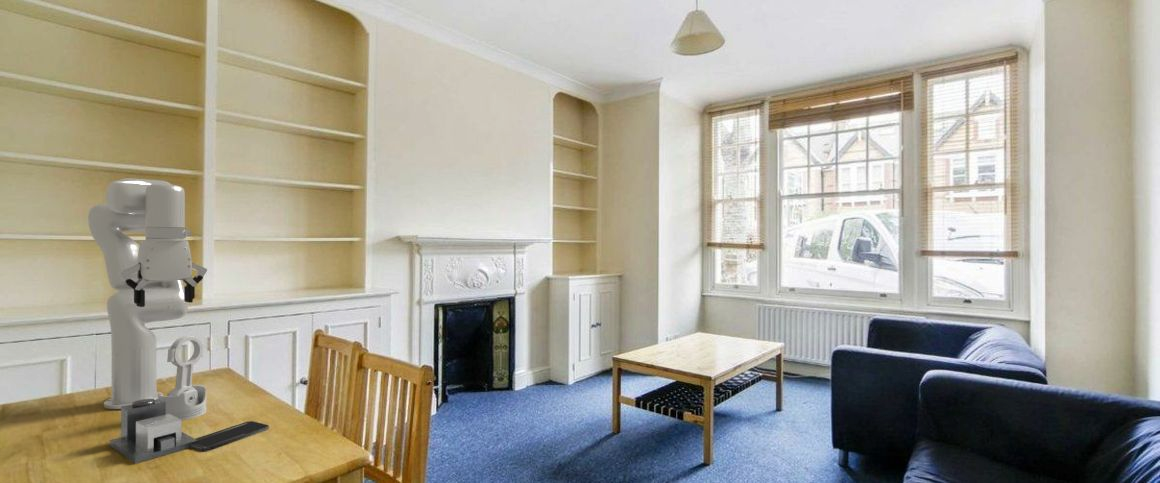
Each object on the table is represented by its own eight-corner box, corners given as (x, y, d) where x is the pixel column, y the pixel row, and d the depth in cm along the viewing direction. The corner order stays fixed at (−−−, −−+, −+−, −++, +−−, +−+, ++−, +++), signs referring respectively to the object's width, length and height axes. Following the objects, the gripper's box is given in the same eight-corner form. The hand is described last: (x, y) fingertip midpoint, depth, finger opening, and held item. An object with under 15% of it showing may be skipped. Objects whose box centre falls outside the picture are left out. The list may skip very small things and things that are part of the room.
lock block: (147, 451, 109) (147, 428, 109) (135, 443, 113) (135, 421, 113) (181, 442, 114) (181, 420, 114) (168, 434, 118) (168, 413, 118)
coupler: (109, 445, 114) (109, 406, 114) (169, 430, 124) (169, 393, 124) (135, 463, 106) (135, 421, 106) (197, 445, 115) (197, 406, 115)
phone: (184, 442, 115) (250, 420, 129) (183, 447, 115) (250, 424, 129) (205, 448, 112) (271, 425, 125) (205, 454, 112) (271, 430, 125)
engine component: (147, 419, 130) (179, 423, 128) (147, 340, 130) (179, 342, 128) (188, 405, 141) (218, 408, 139) (188, 332, 141) (218, 333, 139)
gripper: (200, 234, 135) (199, 299, 135) (114, 234, 120) (114, 306, 121) (212, 235, 131) (212, 301, 131) (125, 234, 116) (125, 309, 117)
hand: (165, 304), depth 126 cm, fingers open, 9 cm apart
